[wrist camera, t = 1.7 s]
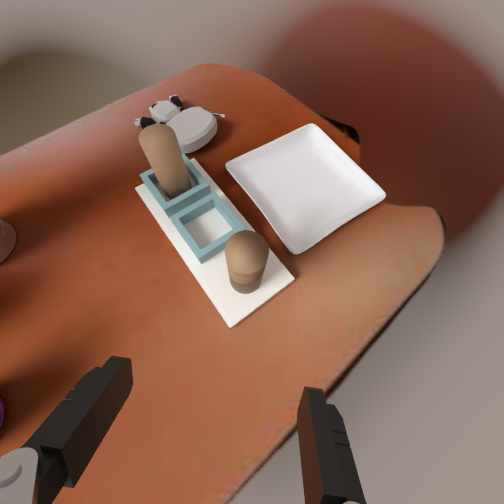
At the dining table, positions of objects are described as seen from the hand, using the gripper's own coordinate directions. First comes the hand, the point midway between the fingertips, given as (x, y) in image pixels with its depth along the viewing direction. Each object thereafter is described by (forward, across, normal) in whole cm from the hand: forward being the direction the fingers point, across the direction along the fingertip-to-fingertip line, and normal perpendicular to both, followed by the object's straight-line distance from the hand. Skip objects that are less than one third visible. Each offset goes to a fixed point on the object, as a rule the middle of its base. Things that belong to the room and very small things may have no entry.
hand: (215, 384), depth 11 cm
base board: (+30, +7, +3) cm, 31 cm away
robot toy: (+45, +18, -12) cm, 50 cm away
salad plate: (+39, -8, -5) cm, 40 cm away
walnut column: (+24, 0, +7) cm, 25 cm away
